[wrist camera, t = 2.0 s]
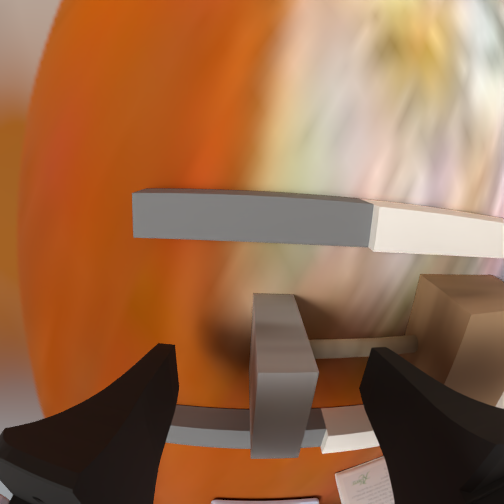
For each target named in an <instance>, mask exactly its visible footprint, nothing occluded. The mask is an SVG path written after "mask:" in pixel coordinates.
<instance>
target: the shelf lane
mask: <svg viewBox="0 0 504 504" xmlns="http://www.w3.org/2000/svg"><path fill="white" fill-rule="evenodd" d="M361 200H364V201H366V202H369V203H372V204H374V207H373V216H372V224H371V232H370V239H369V246H368V248H370V249H371V250H372V251H373V252H391V253H412V254H431V255H451V256H470V257H488V258H504V218H499V217H493V216H487V215H481V214H475V213H469V212H463V211H456V210H449V209H443V208H435V207H428V206H420V205H413V204H405V203H396V202H387V201H378V200H369V199H361ZM495 407H498V408H502V409H504V392H503V394H502V396H501V397H500V399H499V401H498V403H497V404H496V406H495ZM321 410H322V414H323V418H324V421H325V425H326V432H325V435H324V438H323V441H322V444H321V450H322V454H323V453H333V452H342V451H350V450H357V449H364V448H370V447H376V446H380V445H379V443H378V440H377V438H376V436H375V433H374V431H373V428H372V426H371V424H370V421H369V419H368V416H367V414H366V411H365V409H364V405H356V406H345V407H333V408H321Z"/></svg>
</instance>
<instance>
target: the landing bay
mask: <svg viewBox="0 0 504 504" xmlns="http://www.w3.org/2000/svg"><path fill="white" fill-rule="evenodd" d="M373 207H374V204H372V203H369V202H366V201H364V200H361V199H359V198H348V197H337V196H325V195H312V194H298V193H282V192H265V191H244V190H216V189H143V190H140V191H137V192H134V193H132V208H133V237H137V238H166V239H192V240H218V241H242V242H265V243H288V244H309V245H330V246H350V247H368V246H369V239H370V232H371V224H372V216H373ZM325 432H326V425H325V421H324V418H323V414H322V410H321V408H317V409H311V410H310V414H309V418H308V422H307V426H306V430H305V433H304V437H303V441H302V445H301V448H306V447H320V446H321V444H322V441H323V438H324V435H325ZM166 442H167V443H175V444H183V445H193V446H204V447H218V448H240V449H251V445H250V410H247V409H222V408H207V407H194V406H184V405H176V409H175V413H174V416H173V419H172V423H171V426H170V429H169V432H168V435H167V439H166Z"/></svg>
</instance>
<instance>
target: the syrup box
mask: <svg viewBox="0 0 504 504" xmlns="http://www.w3.org/2000/svg"><path fill="white" fill-rule="evenodd" d="M335 478H336V483H337V487H338V491H339V495H340V499H341V504H395V502H394V496H393V491H392V486H391V481H390V477H389V473H388V469H387V465H386V461H385V458H384V456H382V457H379V458H377V459H374V460H372V461H369V462H366V463H364V464H361V465H358V466H355V467H353V468H350V469H347V470H344V471H341V472H338V473H336V474H335Z"/></svg>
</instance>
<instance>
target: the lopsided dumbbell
mask: <svg viewBox="0 0 504 504" xmlns="http://www.w3.org/2000/svg"><path fill="white" fill-rule="evenodd" d="M374 347H387V348H389V349H390V350H392V351H394V352H395V353H397V354H398V355H400V356H401V357H403V358H404V359H405V360H407V361H408V362H410V363H411V364H413V365H414V366H416V367H417V368H418V369H420V370H421V371H423V372H424V373H426V374H427V375H429V376H431V377H432V378H434V379H435V380H437V381H439V382H440V383H442V384H444V385H445V386H447V387H449V388H451V389H453V390H455V391H457V392H459V393H461V394H463V395H465V396H467V397H470V398H472V399H474V400H477V401H480V402H483V403H485V404H488V405H491V406H496V404H497V403H498V401H499V399H500V397H501V396H502V394H503V392H504V282H503V281H501V280H499V279H498V278H496V277H494V276H493V275H442V274H420V277H419V282H418V286H417V290H416V294H415V298H414V302H413V306H412V310H411V314H410V318H409V321H408V325H407V328H406V332H405V335H404V336H394V337H377V338H356V339H319V340H308V336H307V333H306V330H305V327H304V324H303V321H302V318H301V315H300V312H299V309H298V306H297V303H296V301H295V298H294V295H293V294H263V293H253V310H252V327H251V345H250V362H249V400H250V445H251V458H253V459H265V458H297V457H298V455H299V452H300V448H301V445H302V441H303V437H304V433H305V430H306V426H307V422H308V418H309V414H310V410H311V406H312V401H313V397H314V393H315V388H316V384H317V379H318V375H319V370H318V367H317V364H316V361H315V359H327V358H350V357H367V356H369V355H370V351H371V348H374Z"/></svg>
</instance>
